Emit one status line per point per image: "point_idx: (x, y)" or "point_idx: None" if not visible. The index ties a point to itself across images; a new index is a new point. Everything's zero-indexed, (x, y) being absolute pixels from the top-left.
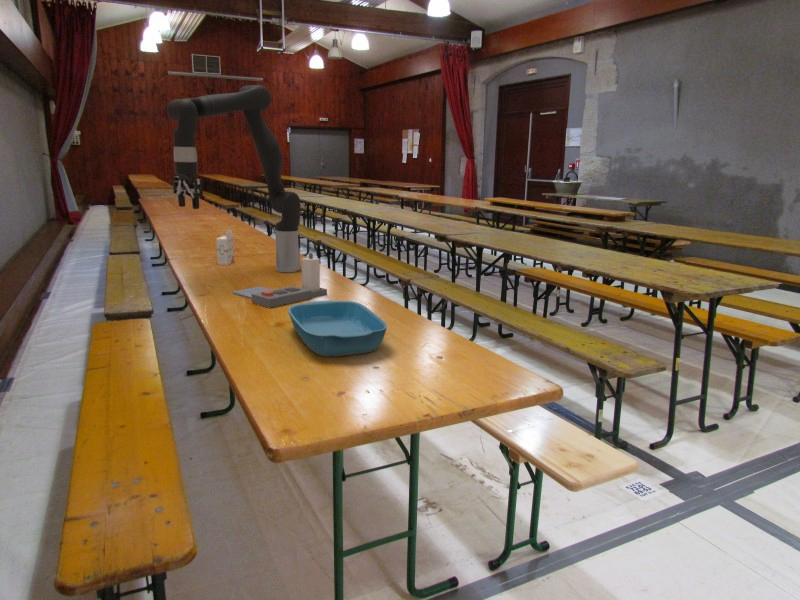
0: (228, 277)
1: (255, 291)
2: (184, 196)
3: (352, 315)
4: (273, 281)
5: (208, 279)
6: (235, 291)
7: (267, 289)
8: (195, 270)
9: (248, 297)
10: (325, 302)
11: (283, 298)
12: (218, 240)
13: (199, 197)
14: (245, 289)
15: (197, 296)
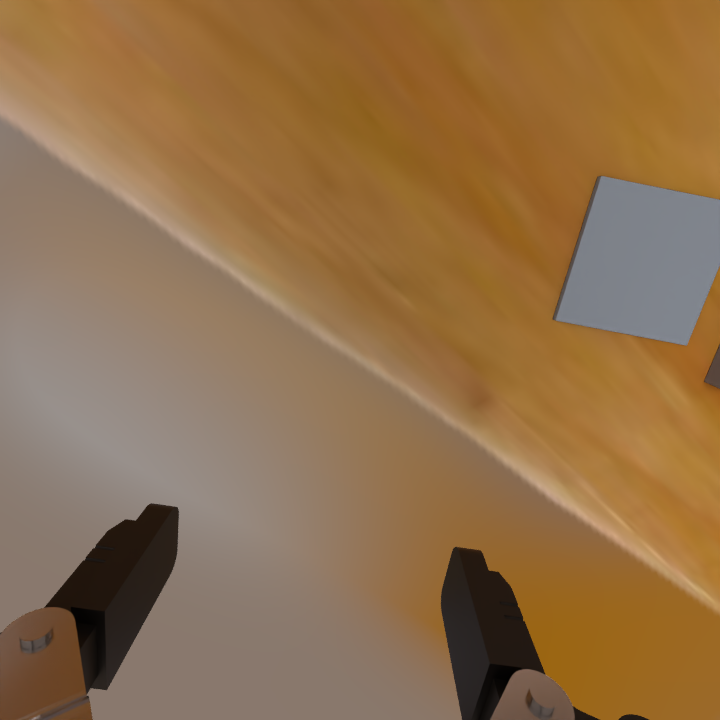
0: (325, 91)
1: (638, 263)
2: (110, 608)
3: None
4: (573, 11)
5: (288, 188)
6: (565, 311)
7: (664, 202)
8: (69, 69)
9: (656, 339)
10: None
11: None
12: None
13: (548, 679)
14: (579, 260)
15: (475, 422)
